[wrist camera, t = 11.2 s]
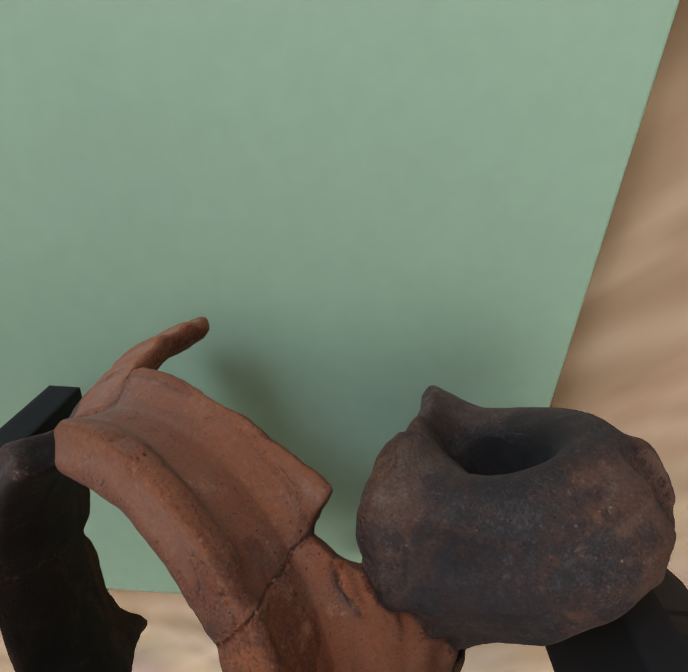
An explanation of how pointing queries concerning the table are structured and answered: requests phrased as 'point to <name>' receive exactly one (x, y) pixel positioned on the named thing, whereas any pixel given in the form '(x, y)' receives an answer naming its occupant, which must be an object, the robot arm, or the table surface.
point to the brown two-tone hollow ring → (311, 551)
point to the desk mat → (310, 208)
